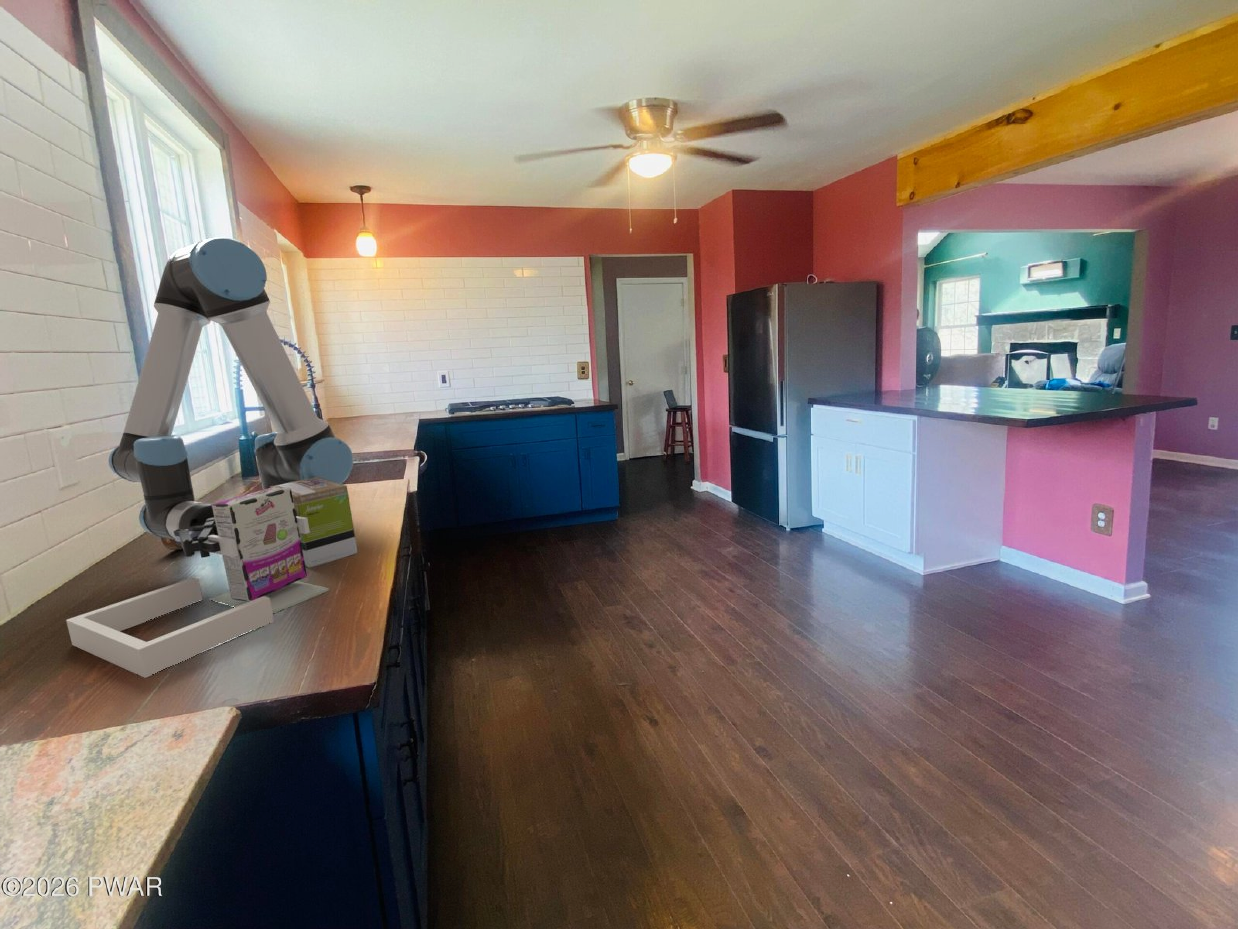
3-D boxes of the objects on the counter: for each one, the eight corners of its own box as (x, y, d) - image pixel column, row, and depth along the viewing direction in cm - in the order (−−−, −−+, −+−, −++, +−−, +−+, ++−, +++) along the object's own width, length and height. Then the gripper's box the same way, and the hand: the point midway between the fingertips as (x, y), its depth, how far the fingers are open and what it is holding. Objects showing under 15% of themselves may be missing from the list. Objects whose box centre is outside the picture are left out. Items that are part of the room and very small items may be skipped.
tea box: (280, 554, 124) (267, 485, 121) (329, 540, 131) (319, 475, 128) (307, 569, 114) (294, 494, 111) (359, 554, 121) (348, 483, 118)
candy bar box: (287, 574, 107) (272, 486, 104) (308, 577, 105) (293, 487, 102) (228, 600, 97) (209, 503, 94) (250, 603, 95) (231, 504, 92)
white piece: (198, 599, 102) (193, 577, 101) (274, 621, 91) (269, 597, 90) (72, 645, 87) (65, 619, 87) (145, 678, 77) (138, 649, 76)
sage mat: (274, 577, 110) (273, 575, 110) (328, 590, 103) (328, 588, 102) (210, 601, 101) (210, 598, 101) (265, 617, 93) (265, 614, 93)
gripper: (269, 524, 119) (339, 536, 109) (128, 565, 99) (198, 584, 88) (262, 488, 118) (333, 496, 107) (118, 522, 97) (188, 536, 87)
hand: (272, 536), depth 98 cm, fingers closed on candy bar box, 11 cm apart
